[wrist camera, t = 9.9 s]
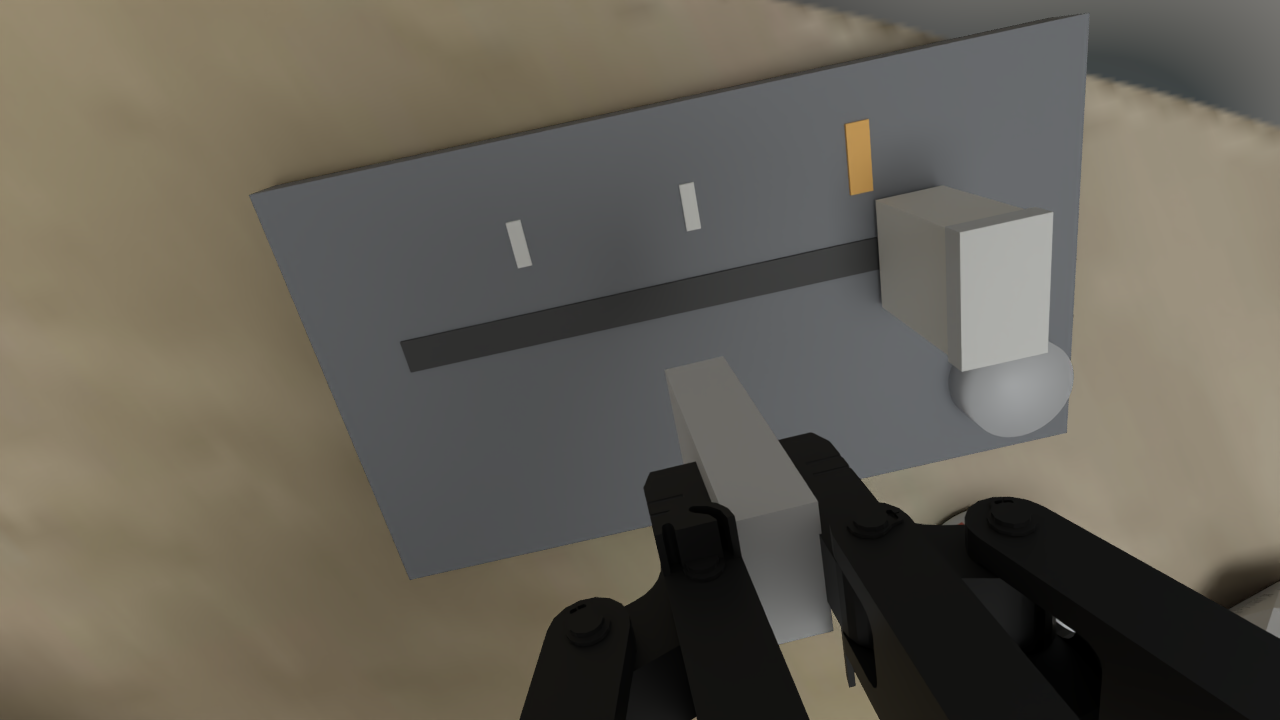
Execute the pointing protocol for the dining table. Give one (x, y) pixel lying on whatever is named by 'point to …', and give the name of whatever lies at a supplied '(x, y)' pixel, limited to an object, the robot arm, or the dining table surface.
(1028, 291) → the fader knob
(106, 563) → the dining table surface
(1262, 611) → the die
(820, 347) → the console
